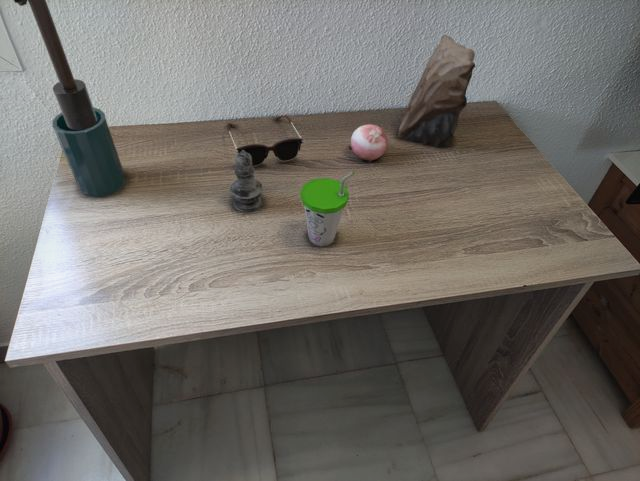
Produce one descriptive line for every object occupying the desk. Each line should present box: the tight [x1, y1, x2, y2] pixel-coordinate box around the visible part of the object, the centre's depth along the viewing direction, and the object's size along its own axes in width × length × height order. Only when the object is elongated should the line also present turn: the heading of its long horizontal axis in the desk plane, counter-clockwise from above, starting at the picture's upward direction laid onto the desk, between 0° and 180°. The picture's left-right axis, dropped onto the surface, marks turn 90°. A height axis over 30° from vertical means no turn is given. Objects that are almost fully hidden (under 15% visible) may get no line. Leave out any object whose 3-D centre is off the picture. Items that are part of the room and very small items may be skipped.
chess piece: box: [229, 150, 264, 213], centre depth 84 cm, size 6×6×12 cm
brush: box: [27, 0, 97, 130], centre depth 65 cm, size 4×4×22 cm
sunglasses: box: [226, 114, 304, 167], centre depth 100 cm, size 14×16×5 cm
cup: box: [299, 170, 355, 248], centre depth 77 cm, size 8×8×15 cm
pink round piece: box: [347, 124, 388, 163], centre depth 98 cm, size 8×8×7 cm
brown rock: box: [397, 34, 476, 148], centre depth 100 cm, size 13×13×20 cm
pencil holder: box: [51, 106, 126, 198], centre depth 85 cm, size 8×8×14 cm
